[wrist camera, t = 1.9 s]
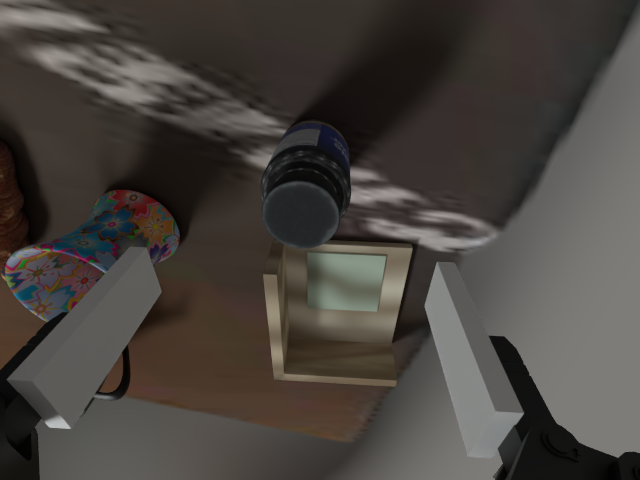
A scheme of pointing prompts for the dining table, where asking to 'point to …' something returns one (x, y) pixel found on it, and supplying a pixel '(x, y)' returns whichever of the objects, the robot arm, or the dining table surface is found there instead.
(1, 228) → the pastry
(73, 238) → the mug
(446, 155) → the dining table surface
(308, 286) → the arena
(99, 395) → the mug
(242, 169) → the dining table surface
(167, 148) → the dining table surface
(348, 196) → the pill bottle
